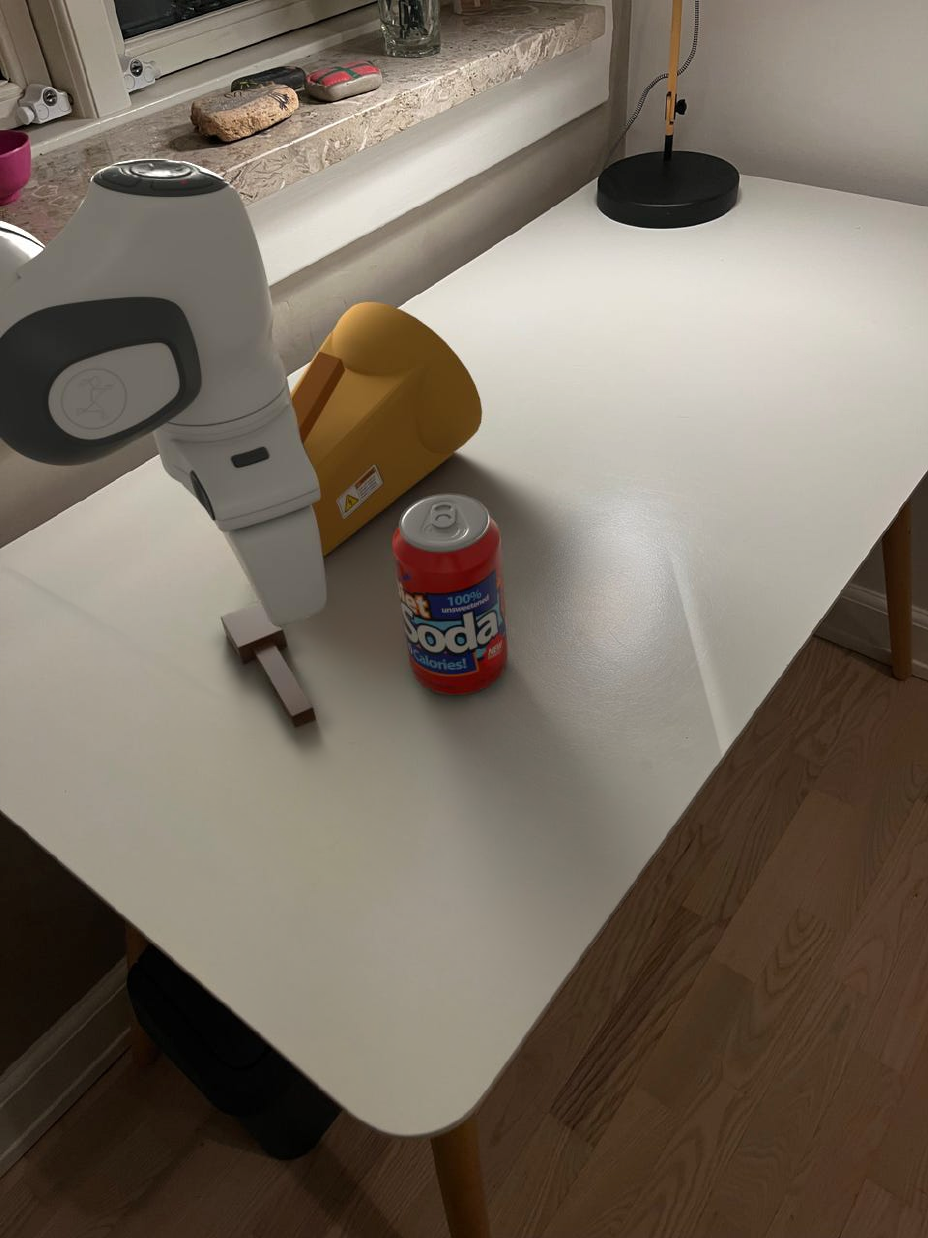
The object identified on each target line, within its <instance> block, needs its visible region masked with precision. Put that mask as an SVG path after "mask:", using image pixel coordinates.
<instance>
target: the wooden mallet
mask: <svg viewBox="0 0 928 1238" xmlns="http://www.w3.org/2000/svg"><path fill="white" fill-rule="evenodd" d="M220 621H221V624H222V627H223V630H224V632H225V635H226V637H227V639H228V641H229V642H230V644H231V646H232V648H233V649H234V651H235V653H236V655H237V656H238V659H239V660H240V662H241V664H242V665H246V664H249V663H251V662H253V661H256V663H257V665H258V666H259V668H260V671H261V672H262V674H263V675H264V677H265V679H266V681H267V682H268V684H269V686H270V688H271V689H272V691H273V693H274V695H275V696H276V698H277V700H278V701H279V703H280V705H281V707H282V709H283V710H284V712H285V713H286V716H287V717H288V720H289V721H290V723H291V724H292V726H293V728H294V729H296V728H299V727H301V726H304V725H306V724H308V723H310V722H312V721H315V720H316V719H317V717H316V713H315V709H314V706H313V704H312V703H311V701H310V700H309V697H308V696H307V694H306V693H305V691H304V689H303V688H302V687H301V684H300V683H299V681H298V680H297V678H296V676H295V675H294V673H293V671H292V670H291V668H290V666H289V665H288V664H287V661H286V660H285V658H284V656H283V655H282V653H281V652H280V650H282V649H284V648H286V647H288V643H287V639H286V634H285V632H284V629H283V626H282V627H276V626H274V625H273V624H272V623H271V622H270V620H269V619H268V617H267V615H266V612H265V610H264V608H263V606H262V604H261V603H260V601H259V600H258V601H257V602H255V603H252V604H250V605H247V606H245V607H242V608H239V609H237V610H235V611H232V612H229V613H227V614H225V615H222V616H220Z"/></svg>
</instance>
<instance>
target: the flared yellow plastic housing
mask: <svg viewBox="0 0 928 1238" xmlns="http://www.w3.org/2000/svg"><path fill="white" fill-rule="evenodd" d="M290 395H291V400H292V405H293V408H294V410H295V413H296V418H297V423H298V427H299V433H300V438H301V440H302V442H303V445H304V447H305V450H306V452H307V454H308V456H309V458H310V460H311V462H312V465H313V468H314V470H315V473H316V475H317V478H318V482H319V487H320V494H321V497H320V500H319V501H317V502H315V503H312V504H311V505H312V507H313V510H314V513H315V517H316V521H317V525H318V529H319V534H320V541H321V548H322V555H323V557H326V556H327V555H328V554H330V553H331V552H332V551H333V550H335V549H336V548H337V547H338V546H339V545H341V544H342V543H343V542H344V541H346V540H347V539H348V538H350V537H352V535H354V534H355V533H356V532H357V531H358V530H360V529H361V528H363V526H364V525H366V524H367V523H368V522H370V521H371V520H372V519H374V518H375V517H376V516H378V514H380V513H381V512H382V511H383V510H385V509H387V508H388V507H389V506H390V505H391V504H392V503H393V502H395V501H396V500H398V499H399V498H400V497H402V495H403V494H405V493H406V492H407V491H409V490H410V489H412V487H414V486H415V485H416V484H417V483H419V482H420V481H421V480H422V479H425V477H427V476H428V475H429V474H430V473H431V472H432V471H434V470H435V469H436V468H438V467H439V466H440V465H441V464H442V463H444V462H446V460H448V459H449V458H450V457H451V456H452V455H453V454H454V452H457V451H458V450H459V449H460V448H462V447H464V446H465V444H466V443H468V442H469V440H471V438H472V437H474V436H475V435H476V433H478V431H479V429H480V427H481V424H482V420H483V407H482V402H481V400H482V399H481V398H480V394H479V391H478V388H477V385H476V384H475V381H474V380H473V378H472V376H471V374H470V372H469V370H468V369H467V367H466V366H465V364H464V363H463V362H462V360H461V358H460V357H459V356H458V354H457V353H456V352H455V351H454V350H453V349H452V348H451V346H449V344H448V343H447V342H446V340H444V339H443V338H442V337H441V336H440V335H439V334H438V333H437V332H435V331H434V330H433V329H432V328H431V327H429V326H428V325H426V324H425V323H424V322H423V321H421V320H420V319H418V318H417V317H416V316H413V315H412V314H410V313H408V312H406V311H405V310H403V309H400V308H398V307H395V306H393V305H390V304H387V303H382V302H377V301H363V302H360V303H357V304H353V305H352V306H351V307H350V308H349V309H347V310H346V311H345V313H344V314H343V315H342V316H341V317H340V318H339V320H338V321H337V323H336V325H335V327H334V329H333V330H332V331H331V332H330V333H328V336H327V337H326V338H325V340H324V341H323V343H322V344H321V346H320V347H319V349H318V351H317V352H316V354H315V355H314V357H313V358H312V359H311V361H310V362H309V364H308V365H307V367H306V368H305V370H304V371H303V373H302V374H301V376H300V378H299V379H298V380H297V382H296V384H295V385H294V386H293V388H292V389H291V391H290Z"/></svg>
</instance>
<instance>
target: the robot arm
mask: <svg viewBox="0 0 928 1238" xmlns="http://www.w3.org/2000/svg"><path fill="white" fill-rule="evenodd" d="M253 227H254V226H253V225H252V221H251V219H250V216H249V213H248V210H247V208H246V206H245V203H244V201H243V199H242V198H241V196H240V194H239V192H238V191H237V188H236V187H235V186H234V185H232V184H231V183H230V182H228V181H227V179H226V178H224V177H222V176H221V175H218V174H217V173H215V172H213V171H211V170H209V169H207V168H204V167H202V166H199V165H196V164H193V163H190V162H187V161H183V160H182V161H177V160H170V159H166V158H165V159H164V158H142V159H132V160H127V161H121V162H116V163H113V164H111V165H110V166H107V167H104V168H102V169H99V170H98V171H97V172H95V173H94V174H93V176H92V177H91V179H90V181H89V184H88V188H87V192H86V193H85V196H84V198H83V200H82V201H81V202H80V204H79V206H78V208H77V209H76V210H75V211H74V213H73V214H72V216H71V217H70V219H69V220H68V222H67V223H66V224H65V225H64V226H63V228H62V229H61V230H60V231H59V232H58V233H57V234H56V236H54V238H53V239H52V240H51V241H50V242H49V243H48V244H47V245H46V246H45V245H44V244H43V243H42V242H41V241H40V240H38V239H37V238H36V237H35V236H33V235H32V234H30V233H29V232H27V231H25V230H24V229H22V228H19V227H18V226H15V225H13V224H11V223H7V222H5V221H3V220H0V439H1V440H2V441H3V442H4V443H5V444H6V445H7V446H8V447H10V448H11V449H12V450H14V451H15V452H16V453H18V454H20V455H22V456H23V457H25V458H28V459H30V460H32V461H35V462H38V463H40V464H41V463H42V464H45V465H50V466H58V467H73V466H81V465H86V464H91V463H94V462H97V461H100V460H103V459H104V458H107V457H108V456H112V455H113V454H115V453H117V452H119V451H121V450H123V449H124V448H126V447H128V446H130V445H132V444H134V443H135V442H137V441H139V440H140V439H142V438H144V437H146V436H147V435H149V434H150V433H152V435H153V438H154V441H155V444H156V449H157V452H158V454H159V457H160V460H161V464H162V467H163V469H164V472H166V474H167V475H168V476H169V477H170V478H171V479H173V480H175V481H176V482H178V483H180V484H181V485H182V486H183V487H184V488H185V490H187V491H188V492H189V493H190V494H191V495H192V496H193V497H194V498H195V499H196V500H198V502H199V503H200V505H201V506H202V507H203V508H204V510H205V511H206V513H207V514H208V516H209V517H210V519H211V521H213V522H214V523H215V525H216V527H217V529H218V530H219V531H220V532H222V534H223V536H224V538H225V539H226V542H227V543H228V545H229V547H230V548H231V551H232V552H233V554H234V556H235V558H236V560H237V562H238V564H239V565H240V568H241V569H242V571H243V573H244V575H245V577H246V579H247V581H248V582H249V584H250V586H251V588H252V589H253V591H254V594H255V595H256V597H257V599H258V602H259V601H260V603H261V604H262V606H263V608H264V610H265V612H266V615H267V617H268V619H269V620H270V622H271V623H272V624H273V625H274V626H276V627H282V628H283V627H286V626H289V625H291V624H295V623H298V622H301V621H304V620H306V619H308V618H311V617H313V616H315V615H318V614H320V613H322V611H323V610H324V609H325V606H326V604H327V599H328V591H327V581H326V572H325V563H324V556H323V555H322V548H321V541H320V534H319V529H318V525H317V521H316V517H315V513H314V510H313V507H312V505H311V504H312V503H315V502H317V501H319V500H320V497H321V494H320V487H319V482H318V478H317V475H316V473H315V470H314V468H313V465H312V462H311V460H310V458H309V456H308V454H307V452H306V450H305V447H304V445H303V442H302V440H301V438H300V433H299V427H298V423H297V418H296V413H295V410H294V408H293V405H292V400H291V395H290V393H291V391H290V386H289V385H290V384H289V380H288V376H287V370H286V367H285V364H284V362H283V361H282V357H281V356H280V355H279V353H278V351H277V349H276V346H275V343H274V339H273V338H274V337H273V327H274V326H273V325H274V317H275V316H274V306H273V305H274V304H273V300H272V297H271V290H270V286H269V283H268V278H267V273H266V268H265V264H264V261H263V256H262V254H261V250H260V247H259V242H258V239H257V237H256V233H255V230H254V228H253Z"/></svg>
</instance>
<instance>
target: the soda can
mask: <svg viewBox="0 0 928 1238" xmlns="http://www.w3.org/2000/svg"><path fill="white" fill-rule="evenodd" d="M398 521H399V522H398V526H397V528H396V530H395V532H394V534H393V537H392V554H393V555H392V556H393V561H394V568H395V574H396V581H397V587H398V595H399V600H400V607H401V613H402V620H403V626H404V632H405V639H406V645H407V646H406V647H407V653H408V659H409V664H410V668H411V671H412V673H413V675H414V677H415V678H416V680H417V681H418V682H419V683H420V684H421V685H422V686H424V687H426V688H427V689H429V690H431V691H434V692H436V693H439V694H442V695H443V694H444V695H452V696H453V695H454V696H459V695H460V696H461V695H469V694H473V693H475V692H478V691H481V690H483V689H485V688H487V687H489V686H491V685H492V684H493V683H494V682H495V681H497V680H498V679H499V678H500V676H501V675H502V674H503V672H504V671H505V668H506V666H507V664H508V663H507V662H508V636H507V620H506V604H505V585H504V583H505V582H504V570H503V569H504V568H503V567H504V566H503V554H502V553H503V551H502V537H501V532H500V528H499V526H498V524H497V523H496V521H495V520H494V519H493V518H492V517H491V515H490V513H489V510H488V508H487V507H486V506H485V505H484V504H483V502H481V501H479V499H476V498H474V497H472V496H469V495H466V494H462V493H461V494H460V493H453V492H451V493H450V492H449V493H448V492H446V493H436V494H432V495H429V496H425V497H423V498H420V499H418V500H416V501H414V502H413V503H411V504H409V506H408V507H406V508H405V510H404V511H403V512H402V514H401V516H400V518H399V520H398Z"/></svg>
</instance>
